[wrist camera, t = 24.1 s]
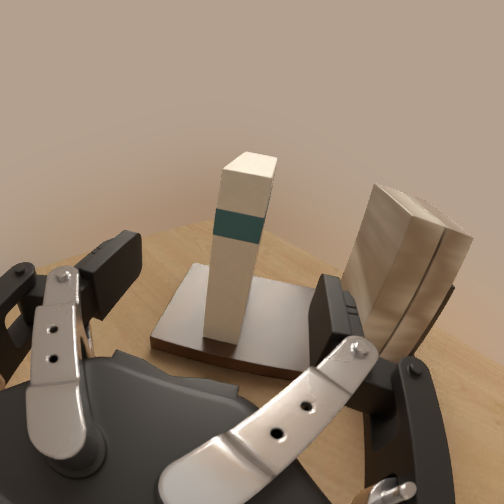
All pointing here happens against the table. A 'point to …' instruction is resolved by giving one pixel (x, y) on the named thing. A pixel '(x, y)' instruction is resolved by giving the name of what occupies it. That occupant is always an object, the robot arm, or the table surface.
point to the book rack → (353, 280)
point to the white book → (236, 243)
